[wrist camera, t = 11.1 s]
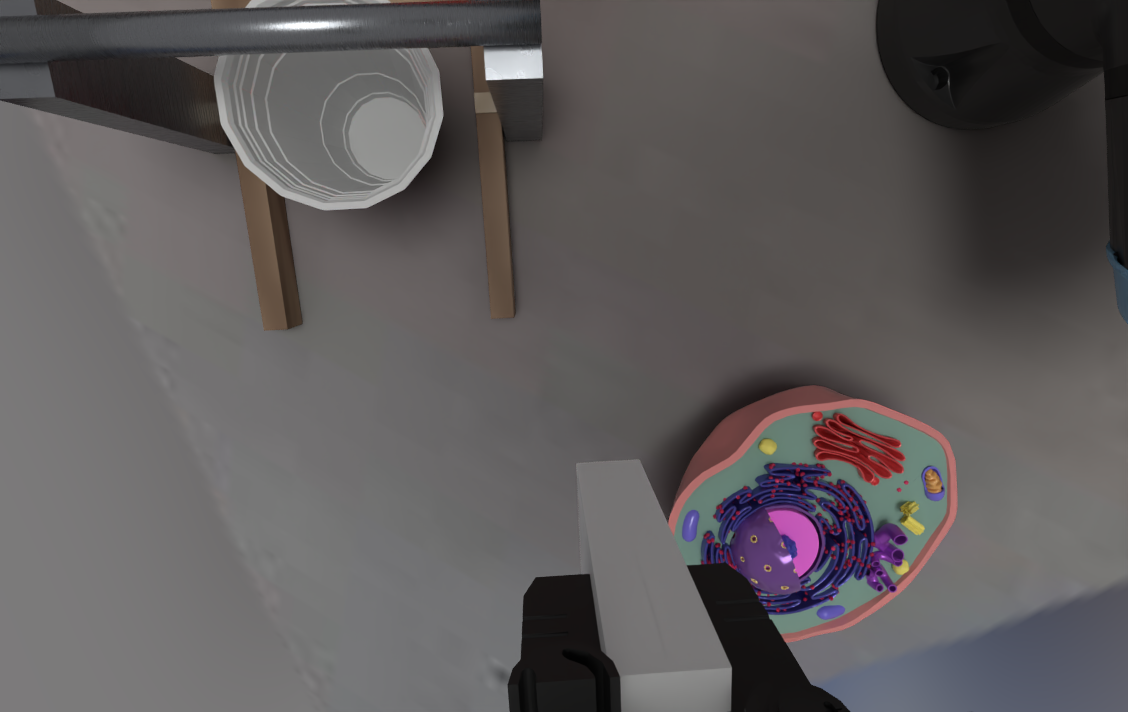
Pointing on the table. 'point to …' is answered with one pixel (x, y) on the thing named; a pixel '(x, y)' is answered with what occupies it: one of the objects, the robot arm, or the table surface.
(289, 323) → the grey and wooden frame
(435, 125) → the plastic cup
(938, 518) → the cell model
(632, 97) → the table surface
